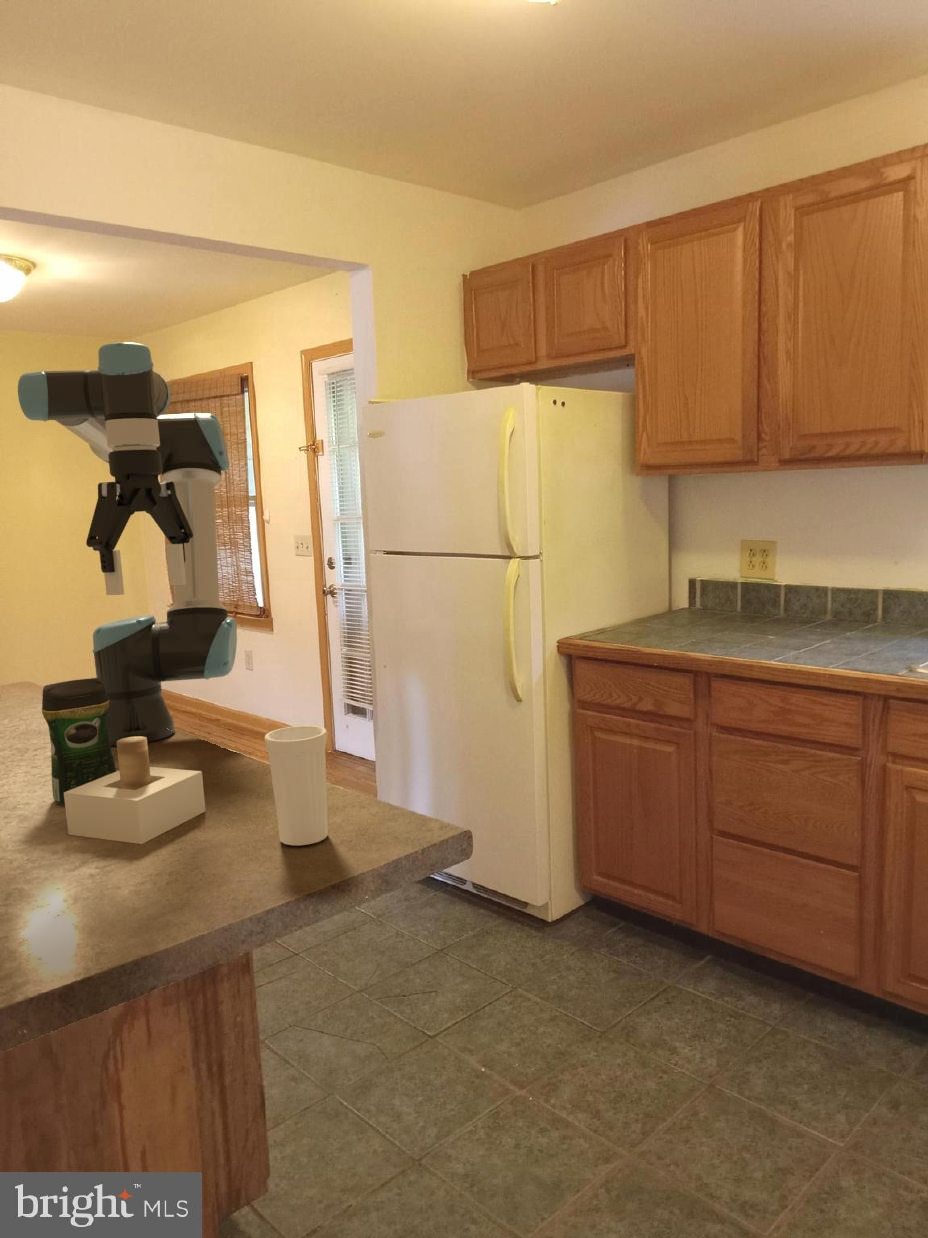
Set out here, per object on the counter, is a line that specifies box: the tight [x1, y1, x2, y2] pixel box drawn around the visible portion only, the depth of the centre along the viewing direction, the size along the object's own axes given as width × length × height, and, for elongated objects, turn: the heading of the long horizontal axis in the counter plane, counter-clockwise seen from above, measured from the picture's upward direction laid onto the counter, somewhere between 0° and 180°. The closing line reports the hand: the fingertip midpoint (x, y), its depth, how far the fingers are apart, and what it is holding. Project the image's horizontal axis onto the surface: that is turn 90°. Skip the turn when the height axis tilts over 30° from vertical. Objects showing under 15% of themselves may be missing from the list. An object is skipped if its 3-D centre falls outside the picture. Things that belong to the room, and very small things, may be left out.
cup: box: [264, 725, 329, 846], centre depth 118 cm, size 8×8×14 cm
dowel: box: [116, 736, 151, 790], centre depth 128 cm, size 4×4×12 cm
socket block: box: [64, 766, 207, 845], centre depth 128 cm, size 13×13×6 cm
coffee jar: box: [41, 677, 118, 806], centre depth 140 cm, size 10×8×19 cm
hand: (148, 589), depth 140 cm, fingers open, 13 cm apart
